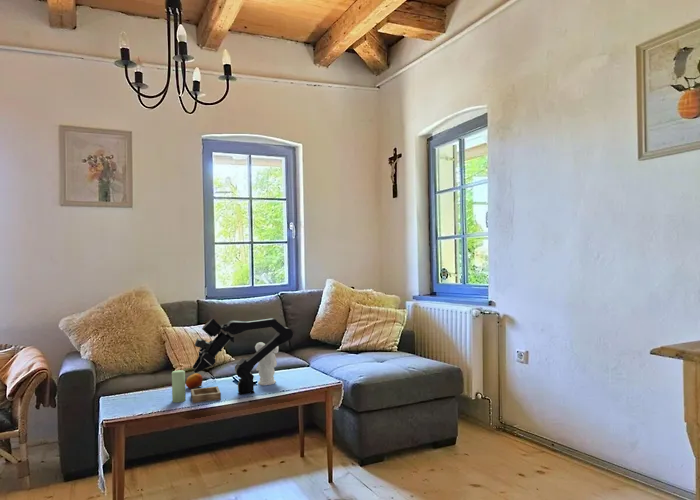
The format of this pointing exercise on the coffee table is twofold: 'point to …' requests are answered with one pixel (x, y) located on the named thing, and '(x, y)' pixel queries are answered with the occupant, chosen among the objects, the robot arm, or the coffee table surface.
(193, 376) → the fruit
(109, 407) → the coffee table surface
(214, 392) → the tray
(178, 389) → the green rounded tapered cylinder
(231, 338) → the robot arm
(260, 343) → the cherub figurine
